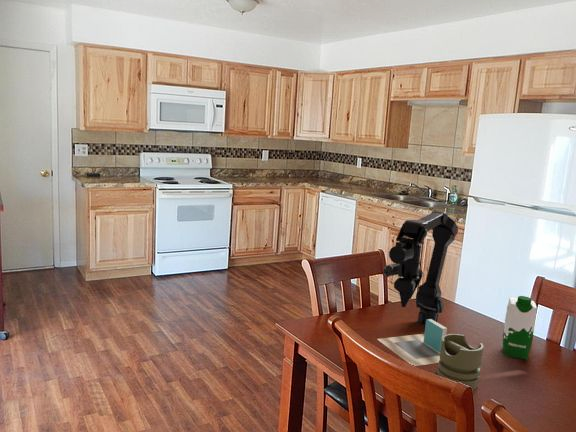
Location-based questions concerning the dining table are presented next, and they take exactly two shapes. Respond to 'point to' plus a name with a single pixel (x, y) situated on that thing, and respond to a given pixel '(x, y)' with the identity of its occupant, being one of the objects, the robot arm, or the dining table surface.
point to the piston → (460, 360)
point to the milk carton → (519, 327)
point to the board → (412, 349)
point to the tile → (434, 334)
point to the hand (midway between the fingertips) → (406, 302)
